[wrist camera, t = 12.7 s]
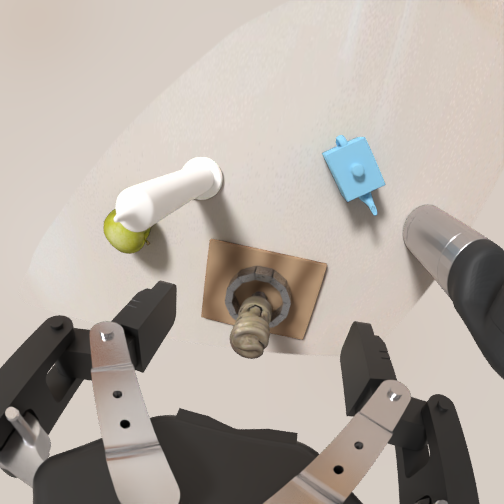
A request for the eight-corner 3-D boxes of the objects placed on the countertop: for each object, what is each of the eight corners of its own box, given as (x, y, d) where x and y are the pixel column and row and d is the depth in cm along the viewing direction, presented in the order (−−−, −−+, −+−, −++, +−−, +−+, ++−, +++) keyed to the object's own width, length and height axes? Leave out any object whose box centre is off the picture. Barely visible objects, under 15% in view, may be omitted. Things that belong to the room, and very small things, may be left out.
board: (326, 263, 48) (326, 266, 47) (302, 336, 54) (302, 339, 53) (211, 238, 49) (209, 240, 48) (202, 314, 56) (201, 316, 55)
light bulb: (242, 280, 50) (223, 332, 36) (274, 279, 49) (265, 333, 36) (246, 307, 52) (229, 363, 38) (276, 307, 51) (268, 364, 38)
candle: (219, 202, 47) (148, 266, 24) (179, 195, 47) (86, 248, 24) (226, 160, 44) (153, 185, 21) (184, 154, 44) (85, 175, 21)
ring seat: (296, 273, 48) (296, 282, 46) (282, 324, 53) (281, 334, 50) (233, 260, 49) (230, 267, 46) (225, 312, 53) (221, 321, 51)
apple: (157, 250, 52) (136, 268, 44) (117, 233, 52) (93, 248, 44) (165, 211, 49) (144, 225, 41) (123, 196, 49) (98, 206, 41)
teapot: (381, 197, 43) (396, 208, 36) (348, 212, 44) (358, 226, 37) (351, 128, 39) (362, 126, 32) (316, 144, 41) (321, 144, 34)
